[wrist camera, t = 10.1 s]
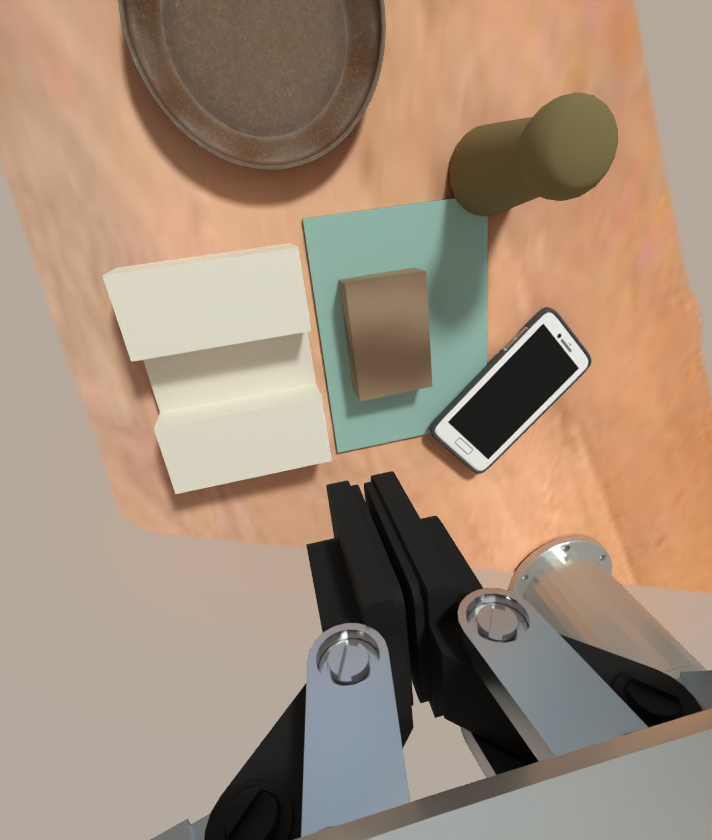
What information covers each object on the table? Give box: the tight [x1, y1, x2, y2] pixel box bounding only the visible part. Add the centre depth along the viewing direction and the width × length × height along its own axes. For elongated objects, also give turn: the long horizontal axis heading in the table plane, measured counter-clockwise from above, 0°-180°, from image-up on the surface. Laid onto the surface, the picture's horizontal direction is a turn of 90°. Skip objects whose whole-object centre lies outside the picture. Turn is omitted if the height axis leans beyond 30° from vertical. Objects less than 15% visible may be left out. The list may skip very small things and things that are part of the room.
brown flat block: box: [339, 267, 433, 401], centre depth 37 cm, size 9×6×2 cm, turn 7°
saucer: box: [118, 0, 386, 170], centre depth 28 cm, size 15×15×3 cm
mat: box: [302, 198, 488, 453], centre depth 39 cm, size 19×14×1 cm
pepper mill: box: [449, 93, 618, 216], centre depth 30 cm, size 6×6×11 cm
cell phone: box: [429, 307, 591, 474], centre depth 43 cm, size 8×15×1 cm, turn 136°
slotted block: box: [103, 243, 332, 494], centre depth 35 cm, size 16×12×4 cm
